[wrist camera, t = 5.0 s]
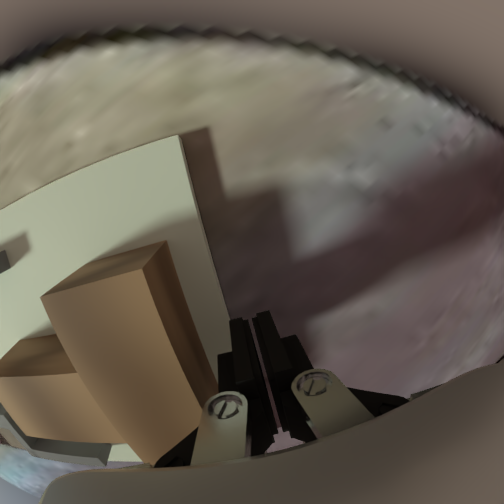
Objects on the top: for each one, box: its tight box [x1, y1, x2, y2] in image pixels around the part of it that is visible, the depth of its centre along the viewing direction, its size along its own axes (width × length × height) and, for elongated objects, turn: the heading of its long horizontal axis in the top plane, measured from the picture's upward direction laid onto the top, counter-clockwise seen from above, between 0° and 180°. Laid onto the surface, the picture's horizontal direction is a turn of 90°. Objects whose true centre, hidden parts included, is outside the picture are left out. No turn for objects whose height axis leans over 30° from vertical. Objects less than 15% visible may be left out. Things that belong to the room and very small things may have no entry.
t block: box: [0, 240, 219, 465], centre depth 10 cm, size 11×10×4 cm
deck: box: [0, 135, 232, 467], centre depth 12 cm, size 25×18×3 cm
